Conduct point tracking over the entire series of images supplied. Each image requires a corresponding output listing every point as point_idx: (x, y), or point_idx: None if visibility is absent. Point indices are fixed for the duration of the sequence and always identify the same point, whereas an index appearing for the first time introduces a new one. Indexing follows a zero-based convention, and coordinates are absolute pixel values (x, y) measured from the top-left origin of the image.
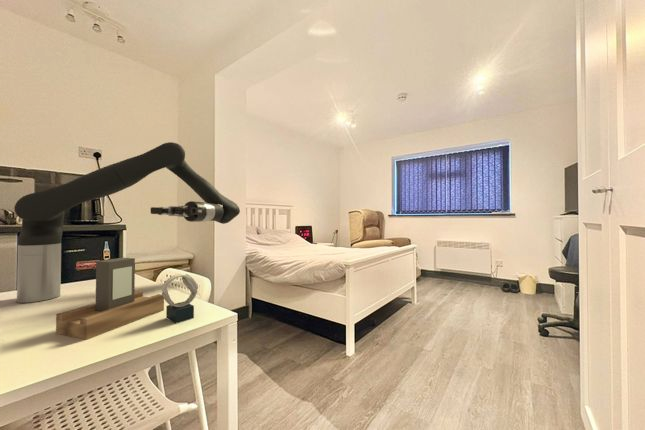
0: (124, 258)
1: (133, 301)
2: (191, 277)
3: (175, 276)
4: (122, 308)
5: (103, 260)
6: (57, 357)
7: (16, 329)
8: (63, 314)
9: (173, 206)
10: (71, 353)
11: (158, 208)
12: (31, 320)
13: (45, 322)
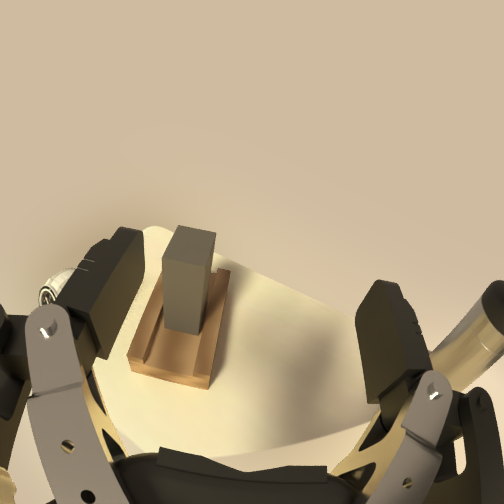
0: (187, 256)
1: (164, 322)
2: (43, 285)
3: (67, 272)
4: (153, 290)
5: (210, 238)
6: (162, 251)
7: (293, 296)
8: (218, 269)
9: (380, 481)
10: (155, 256)
11: (390, 333)
12: (317, 318)
13: (288, 315)
